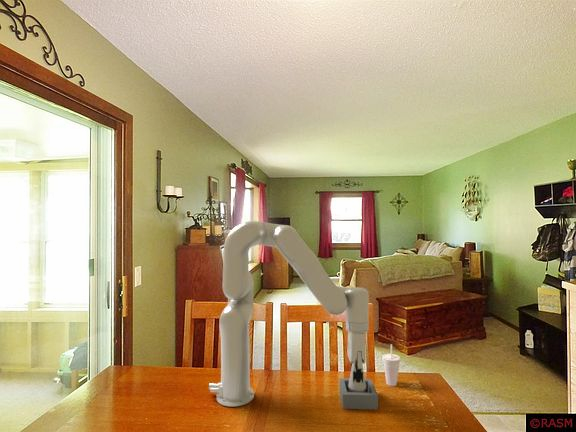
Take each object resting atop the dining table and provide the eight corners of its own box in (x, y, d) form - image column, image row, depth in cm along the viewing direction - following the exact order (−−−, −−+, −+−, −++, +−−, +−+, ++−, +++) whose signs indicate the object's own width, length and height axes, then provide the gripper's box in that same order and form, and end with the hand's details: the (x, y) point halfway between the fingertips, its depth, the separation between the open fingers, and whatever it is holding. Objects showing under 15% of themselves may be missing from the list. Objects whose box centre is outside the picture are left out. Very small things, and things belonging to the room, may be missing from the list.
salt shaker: (366, 398, 111) (366, 358, 112) (348, 396, 113) (348, 356, 113) (365, 389, 117) (365, 351, 117) (348, 387, 118) (348, 349, 118)
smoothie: (401, 381, 128) (401, 343, 128) (399, 389, 122) (399, 349, 122) (383, 378, 130) (383, 341, 131) (381, 385, 125) (380, 346, 125)
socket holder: (342, 408, 110) (342, 394, 110) (339, 391, 121) (339, 378, 121) (378, 409, 109) (377, 395, 109) (371, 392, 120) (371, 379, 120)
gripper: (343, 318, 123) (343, 369, 123) (348, 333, 107) (348, 393, 107) (364, 318, 123) (364, 370, 123) (373, 333, 107) (373, 393, 107)
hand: (357, 380), depth 115 cm, fingers closed on salt shaker, 3 cm apart
